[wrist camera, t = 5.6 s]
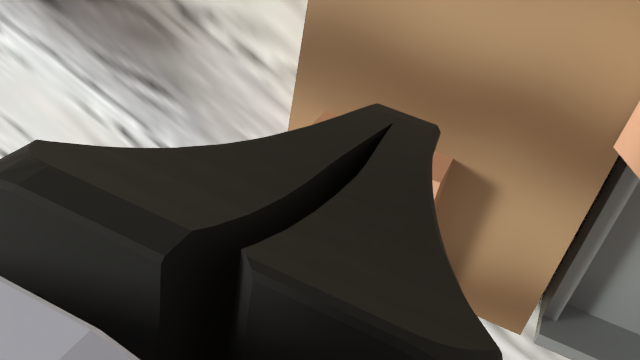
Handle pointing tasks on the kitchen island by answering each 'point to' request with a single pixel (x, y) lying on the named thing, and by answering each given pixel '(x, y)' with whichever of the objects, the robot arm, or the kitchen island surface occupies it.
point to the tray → (599, 280)
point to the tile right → (631, 142)
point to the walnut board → (489, 118)
